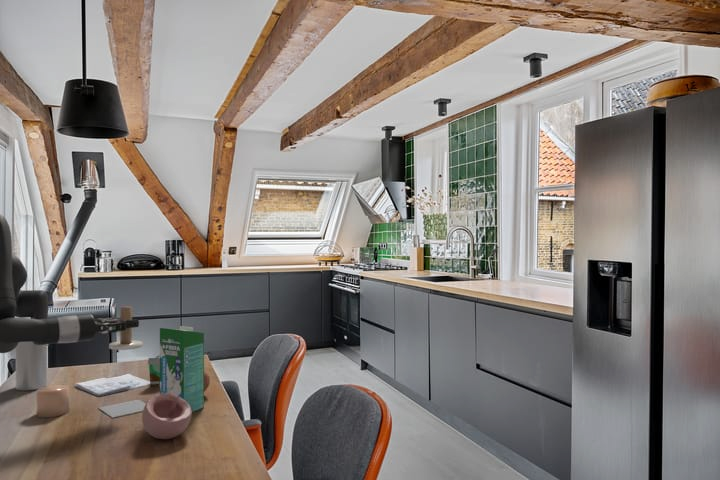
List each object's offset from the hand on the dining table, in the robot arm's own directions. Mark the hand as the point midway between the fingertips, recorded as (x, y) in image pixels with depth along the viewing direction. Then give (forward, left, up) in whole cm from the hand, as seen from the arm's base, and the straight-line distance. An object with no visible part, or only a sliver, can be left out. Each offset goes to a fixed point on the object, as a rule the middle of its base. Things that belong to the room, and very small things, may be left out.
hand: (135, 322), depth 165 cm
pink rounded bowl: (+31, -4, -26) cm, 41 cm away
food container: (-20, +18, -26) cm, 38 cm away
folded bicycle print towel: (-29, +4, -26) cm, 40 cm away
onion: (+2, +18, -26) cm, 32 cm away
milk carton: (+12, +9, -26) cm, 30 cm away
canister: (-11, -20, -26) cm, 34 cm away
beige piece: (0, -3, -7) cm, 8 cm away
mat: (0, -3, -26) cm, 26 cm away
